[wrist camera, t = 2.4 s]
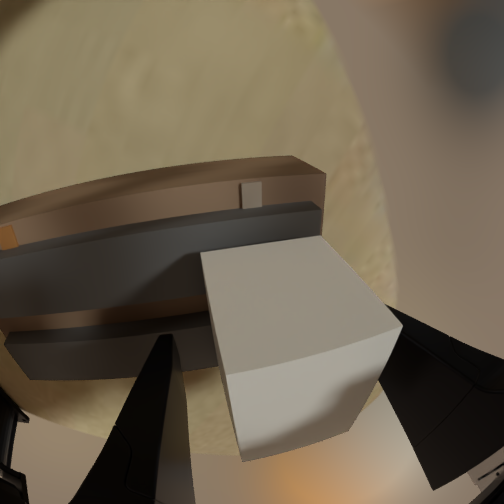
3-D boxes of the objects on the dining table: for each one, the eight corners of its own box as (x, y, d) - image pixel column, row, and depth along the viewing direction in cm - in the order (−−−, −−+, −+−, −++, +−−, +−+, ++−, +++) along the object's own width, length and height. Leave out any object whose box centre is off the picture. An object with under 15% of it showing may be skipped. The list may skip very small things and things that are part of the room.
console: (292, 155, 11) (338, 180, 8) (286, 306, 15) (313, 357, 12) (-10, 209, 9) (-54, 248, 5) (47, 338, 13) (32, 390, 9)
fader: (306, 221, 9) (403, 325, 5) (297, 331, 12) (348, 430, 7) (197, 236, 8) (226, 375, 4) (214, 347, 11) (242, 462, 7)
